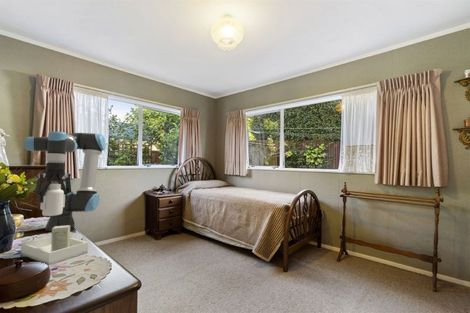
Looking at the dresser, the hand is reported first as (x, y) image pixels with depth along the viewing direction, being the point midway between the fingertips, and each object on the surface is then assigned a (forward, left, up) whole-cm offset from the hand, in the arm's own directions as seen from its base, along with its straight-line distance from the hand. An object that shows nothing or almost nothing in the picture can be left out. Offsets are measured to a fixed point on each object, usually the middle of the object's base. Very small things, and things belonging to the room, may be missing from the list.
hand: (52, 208), depth 116 cm
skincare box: (+2, +13, -19) cm, 23 cm away
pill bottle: (0, 0, -3) cm, 3 cm away
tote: (+2, +8, -20) cm, 22 cm away
